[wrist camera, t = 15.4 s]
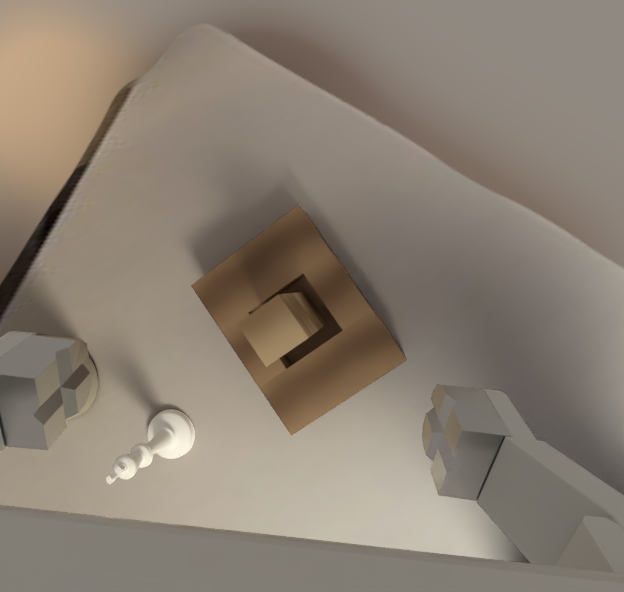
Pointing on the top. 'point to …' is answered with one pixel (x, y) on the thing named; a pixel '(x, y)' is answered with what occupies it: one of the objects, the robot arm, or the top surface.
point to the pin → (281, 325)
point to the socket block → (317, 348)
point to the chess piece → (157, 443)
